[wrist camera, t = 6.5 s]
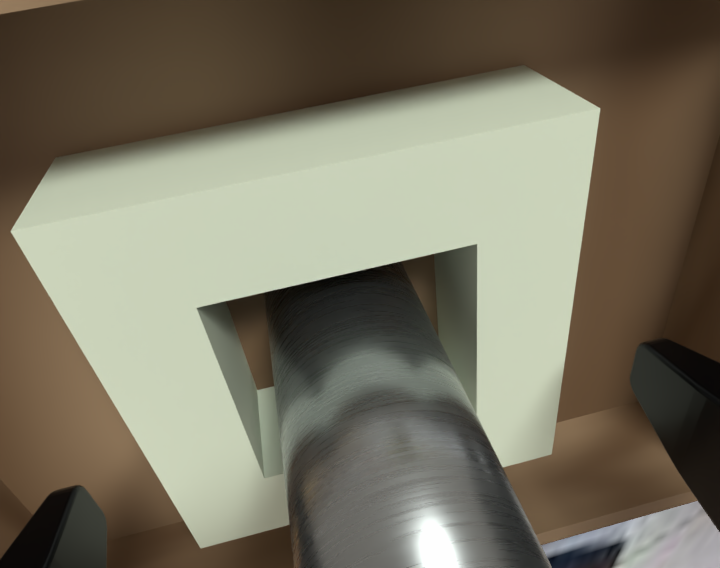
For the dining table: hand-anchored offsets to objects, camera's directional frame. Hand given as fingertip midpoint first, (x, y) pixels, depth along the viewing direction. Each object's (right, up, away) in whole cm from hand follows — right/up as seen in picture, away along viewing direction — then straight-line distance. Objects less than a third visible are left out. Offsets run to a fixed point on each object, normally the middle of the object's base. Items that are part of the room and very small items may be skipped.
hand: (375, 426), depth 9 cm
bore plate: (-1, +2, +3) cm, 4 cm away
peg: (-1, +2, +3) cm, 4 cm away
